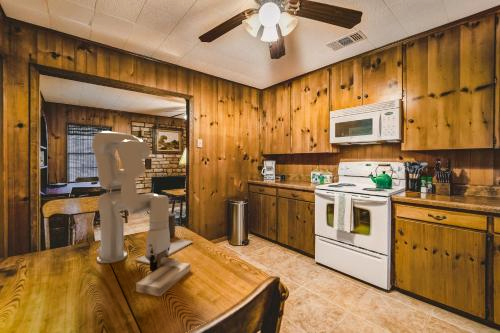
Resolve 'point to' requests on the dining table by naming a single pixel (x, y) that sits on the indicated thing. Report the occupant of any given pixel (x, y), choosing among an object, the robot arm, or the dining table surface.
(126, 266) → the dining table surface
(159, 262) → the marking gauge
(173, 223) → the pillar candle
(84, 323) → the dining table surface
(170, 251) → the baseboard
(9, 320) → the dining table surface
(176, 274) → the birch plank
